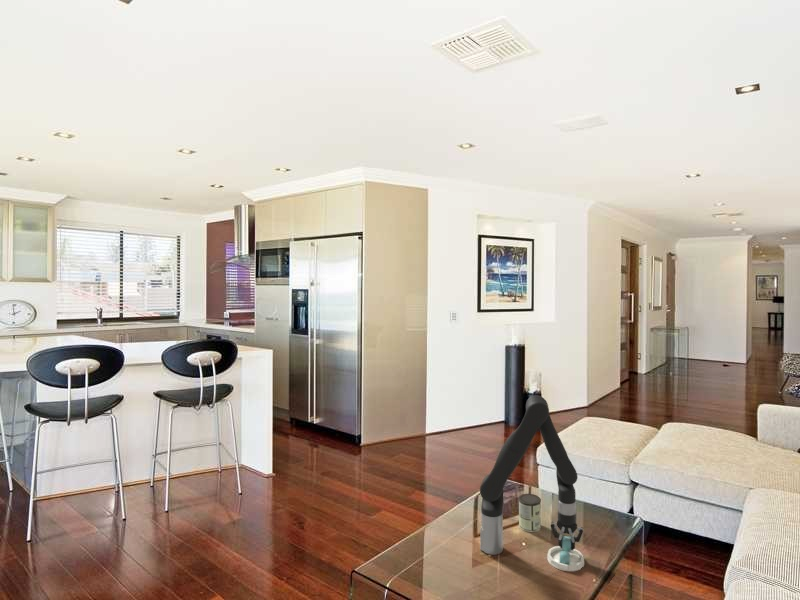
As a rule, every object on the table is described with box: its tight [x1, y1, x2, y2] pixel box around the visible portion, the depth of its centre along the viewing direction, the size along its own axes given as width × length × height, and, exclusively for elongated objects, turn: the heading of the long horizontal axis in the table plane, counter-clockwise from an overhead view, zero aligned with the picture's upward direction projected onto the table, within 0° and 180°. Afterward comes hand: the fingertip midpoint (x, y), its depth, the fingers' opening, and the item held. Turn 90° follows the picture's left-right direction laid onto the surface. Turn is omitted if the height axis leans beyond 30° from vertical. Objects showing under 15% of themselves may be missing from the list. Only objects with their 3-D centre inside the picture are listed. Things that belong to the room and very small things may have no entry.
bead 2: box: [560, 551, 570, 565], centre depth 218 cm, size 4×4×4 cm
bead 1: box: [562, 535, 572, 551], centre depth 224 cm, size 4×4×4 cm
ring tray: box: [546, 545, 585, 572], centre depth 222 cm, size 15×15×2 cm
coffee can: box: [518, 493, 542, 533], centre depth 249 cm, size 10×10×14 cm
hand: (566, 548), depth 225 cm, fingers closed on bead 1, 4 cm apart
